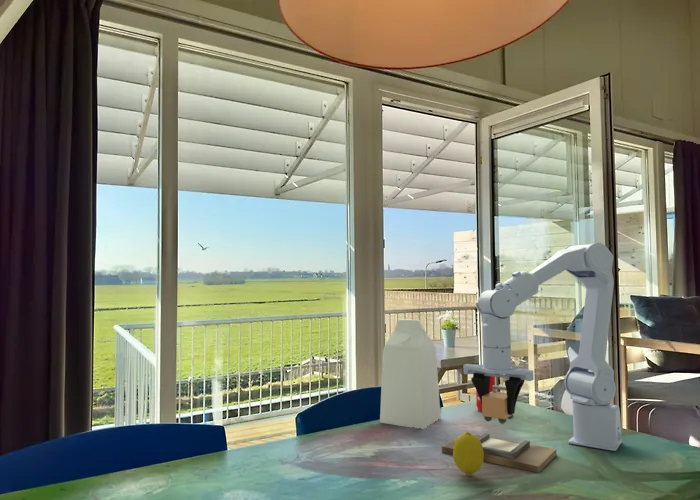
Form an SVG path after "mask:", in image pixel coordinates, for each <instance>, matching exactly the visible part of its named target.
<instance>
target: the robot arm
mask: <svg viewBox="0 0 700 500" xmlns="http://www.w3.org/2000/svg"><path fill="white" fill-rule="evenodd" d="M613 263H614V254H612V252H611V251H610V250H609V248H608V247H607V245H605V244H603V243H602V242H593V243H587V244H580V245H579V244H578V245H572V244H571V245H570V244H569V245H567V246H565V247H564V248H562V249H559V250H557V251H556V252H555V254H553V255H552V256H551V257H549V258H548V259H547V260H545V261H544V262H542V263H540V265H538V266H537V267H535V268H534V269H532V270H531V271H529V272H528V271H525V270H524V271H523V270H522V271H514V272H512V273H511V277H510V278H508V279H507V280H505V281H503V282H502V283H501V282H498V283H496V284H495V288H494V289H487V290H484V291H483V292H482V293H481V294H480V295H479V297H478V301H477V302H476V303H475V305H476V309H477V311H478V313H479V314H480V316H481V323H482V324H481V325H482V326H481V328H482V331H481V332H482V334H481V335H482V362H483V363H482V364H471V363H466V364H463V367H462V368H463V374H464V375H472V377H471V378H470V380H471V383H472V385H473V386H474V388H475V391H476V390H477V392H478V395H479V398H480V401H481V405H482V396H484V395H486V394H488V393H489V387H490V378H491V376H494V377H495V378H504V379H506V380H504V387H506V390H505V391H506V392H505V393H507V411H508V415H512V414H513V415H514V411H515V412H516V405H517V401H518V397H519V394H520V391H521V389H522V387H523V385H524V383H525V381H526V382H532V381H534V379H535V378H534V369H533V370H532V369H525V368H519V367H513V366H512V348H511V345H512V344H511V343H512V342H511V341H512V340H511V316H512V315H513V314H514V313H515V311H516V308H517V307H518V306H519V305H521V304H522V303H524V302H526V301H527V300H529V299H530V298H532V297H533V296H536V294H537V293H538V292H539V286H540V285H541V284H543V283H546V282H547V281H549V280H550V279H551V280H552V278H554V277H557V275H560V274H561V273H563V272H564V271H566V272H567V273H568V274H570V275H572V277H574V278H576V279H577V280H579V281H580V282H581V283H582V284H583V286H584V287H585V288H586V290H585V299H584V305H583V306H584V307H583V316H582V321H581V324H582V325H581V331H580V332H581V333H580V339H579V348H578V355H577V356H576V357H575V358H573V360H571V361H570V362H569V368H568V370H567V373H566V374H565V376H564V380H563V381H564V382H563V384H564V388H565V390H566V392H567V393H568V394H569V395H570V398H569V399H571V400H572V402H571V403H572V425H573V436H572V437H570V438H569V440H568V441H567V443H568V444H571V445H577V446H583V447H589V448H595V449H602V450H606V451H611V452H612V451H613V452H616V451H617V450H618V448H619V447H620V445H621V444H622V443H623V440H622V425H621V423H622V422H621V419H622V418H621V409H620V406H619V405H617V404H612V403H611V402H612V401H613V400H614V398H615V395H616V391H617V388H616V386H617V385H616V383H615V370H614V369H613V368H612V367H611V365H610V364H609V363H608V361H606V357H607V356H606V355H607V348H608V338H609V330H610V321H611V320H610V319H611V313H612V306H613V305H612V303H613V295H614V288H615V287H614V285H615V281H614V280H615V279H614V274H613Z"/></svg>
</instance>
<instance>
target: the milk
mask: <svg viewBox="0 0 700 500" xmlns="http://www.w3.org/2000/svg"><path fill="white" fill-rule="evenodd" d="M436 348H437V347H436V346H435V343H434V342H433V340H432V339H431V337H430V335H428V333H427V332H426V331H425V327H424V325H423V323H422V320H421V319H407V318H406V319H405V318H404V319H402V318H401V319H397V321H396V324H395V327H394V330H393V331H392V333H391V334H390V336H389V338H388V340H387V341H386V343H385V344H384V347H383V348H382V349H383V350H382V364H381V387H380V388H381V389H380V412H379V413H380V414H379V423H381V424H387V425H394V426H400V427H407V428H412V427H415V428H414V429H419V428H421V429H422V430H425V429H426V428H428V427H430V426H431V425H432V424H434V423H436V422H437V421H439V420H440V419H441V405H440V404H441V403H440V388H439V377H438V375H439V373H438V362H437V361H438V360H437V359H438V358H437V349H436ZM438 419H439V420H438ZM435 421H436V422H435ZM430 424H431V425H430ZM427 426H428V427H427ZM421 429H420V430H421Z"/></svg>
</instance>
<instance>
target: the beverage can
mask: <svg viewBox="0 0 700 500" xmlns="http://www.w3.org/2000/svg"><path fill="white" fill-rule="evenodd" d="M493 385H494V386H496V377H494V376H491V378H490V387H489V393H490V392H492V386H493ZM475 394H476V395H475V397H476V398H475V399H476V400H475V403H476V405H475V406H476V408H477V410H478V412H481V413H482V405H481V401H480V398H479V395H478V392H477V390H476V389H475Z"/></svg>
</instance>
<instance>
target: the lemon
mask: <svg viewBox="0 0 700 500" xmlns="http://www.w3.org/2000/svg"><path fill="white" fill-rule="evenodd" d="M464 433H465V434H464ZM464 433H462V434H460V435H459V436H458V438H457V437H456V438H457V439H456V438H455V439H456V441H455V444H454V448H453V454H452V456H453V462H454V463H455V466H456V467H457V468H458V470H460V471H461V472H463V473H465V475H466V476H467V477H470V476H472V475H473V474H475V473H478V471H480V469H481V468H482V466H483V463H484V461H483V460H484V452H483V447H482V444H481V442H480V440H479V439H478V438H477V437H476V436H475V435H476V434H475V435H473V434H474V433H471V432H470V431H466V432H464Z"/></svg>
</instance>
